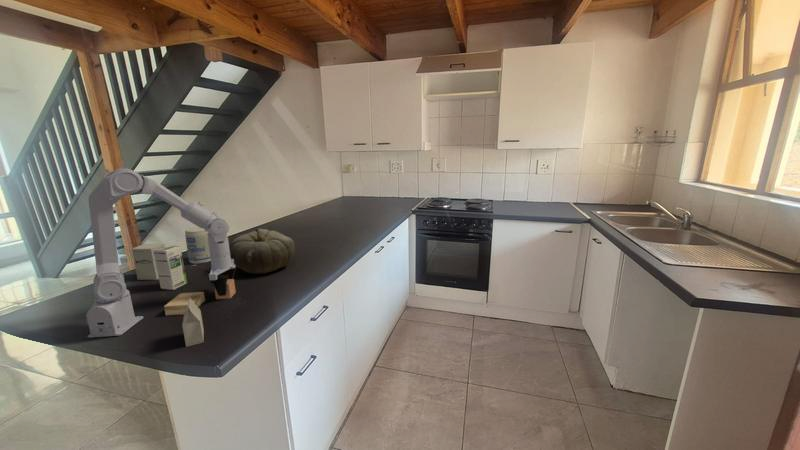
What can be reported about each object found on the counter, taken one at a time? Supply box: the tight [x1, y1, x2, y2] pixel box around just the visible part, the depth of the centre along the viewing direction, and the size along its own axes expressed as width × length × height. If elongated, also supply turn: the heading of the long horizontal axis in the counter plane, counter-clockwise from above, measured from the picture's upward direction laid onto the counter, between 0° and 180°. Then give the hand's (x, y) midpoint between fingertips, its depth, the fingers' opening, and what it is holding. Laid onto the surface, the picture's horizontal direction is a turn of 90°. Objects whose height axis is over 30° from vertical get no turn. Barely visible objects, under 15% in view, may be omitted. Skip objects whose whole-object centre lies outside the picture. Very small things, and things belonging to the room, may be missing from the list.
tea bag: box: [182, 298, 205, 348], centre depth 81 cm, size 4×7×10 cm, turn 31°
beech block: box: [163, 291, 206, 316], centre depth 98 cm, size 9×7×3 cm
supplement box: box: [131, 243, 166, 281], centre depth 121 cm, size 7×7×13 cm
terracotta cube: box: [213, 278, 237, 300], centre depth 105 cm, size 4×4×5 cm
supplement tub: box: [184, 226, 211, 265], centre depth 139 cm, size 10×10×15 cm
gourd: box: [229, 228, 296, 275], centre depth 130 cm, size 25×25×17 cm
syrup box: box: [153, 245, 188, 291], centre depth 112 cm, size 6×6×14 cm
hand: (225, 291), depth 106 cm, fingers closed on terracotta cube, 4 cm apart
